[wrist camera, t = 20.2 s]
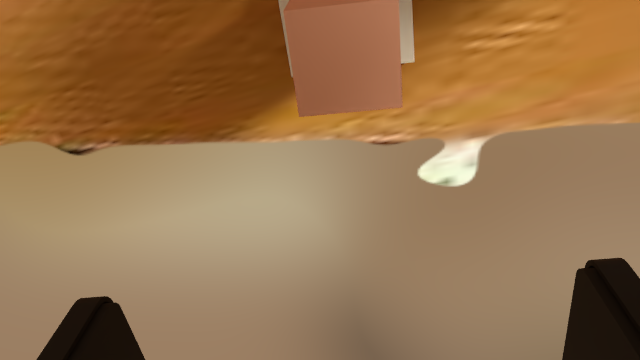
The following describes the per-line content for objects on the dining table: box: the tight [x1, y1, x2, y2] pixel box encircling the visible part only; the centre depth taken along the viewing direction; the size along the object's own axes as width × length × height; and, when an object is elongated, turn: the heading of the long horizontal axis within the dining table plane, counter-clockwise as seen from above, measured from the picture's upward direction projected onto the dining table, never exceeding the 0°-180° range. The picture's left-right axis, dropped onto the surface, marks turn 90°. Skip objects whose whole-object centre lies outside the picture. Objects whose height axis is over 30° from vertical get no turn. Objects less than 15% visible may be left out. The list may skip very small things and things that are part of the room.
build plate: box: [278, 0, 415, 77], centre depth 39 cm, size 11×11×5 cm
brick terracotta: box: [283, 0, 402, 117], centre depth 29 cm, size 6×6×6 cm
